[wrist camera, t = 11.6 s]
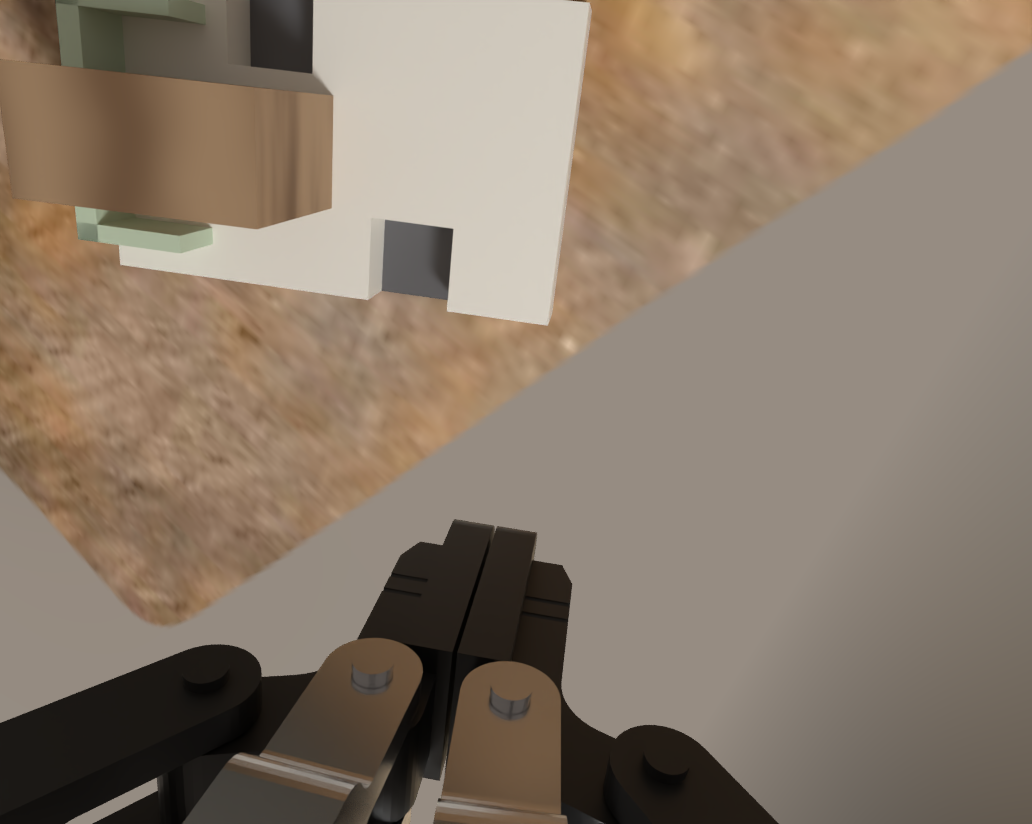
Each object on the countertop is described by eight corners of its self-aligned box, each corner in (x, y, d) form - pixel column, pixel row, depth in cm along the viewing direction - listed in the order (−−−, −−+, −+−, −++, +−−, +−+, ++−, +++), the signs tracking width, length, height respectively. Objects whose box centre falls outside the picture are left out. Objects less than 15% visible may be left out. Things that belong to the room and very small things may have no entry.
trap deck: (591, 11, 34) (586, -9, 29) (552, 313, 39) (541, 341, 34) (130, -39, 36) (48, -66, 31) (148, 256, 41) (81, 275, 36)
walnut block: (333, 95, 35) (254, 87, 27) (331, 208, 36) (257, 229, 29) (125, 72, 35) (-7, 58, 28) (133, 183, 37) (12, 198, 30)
